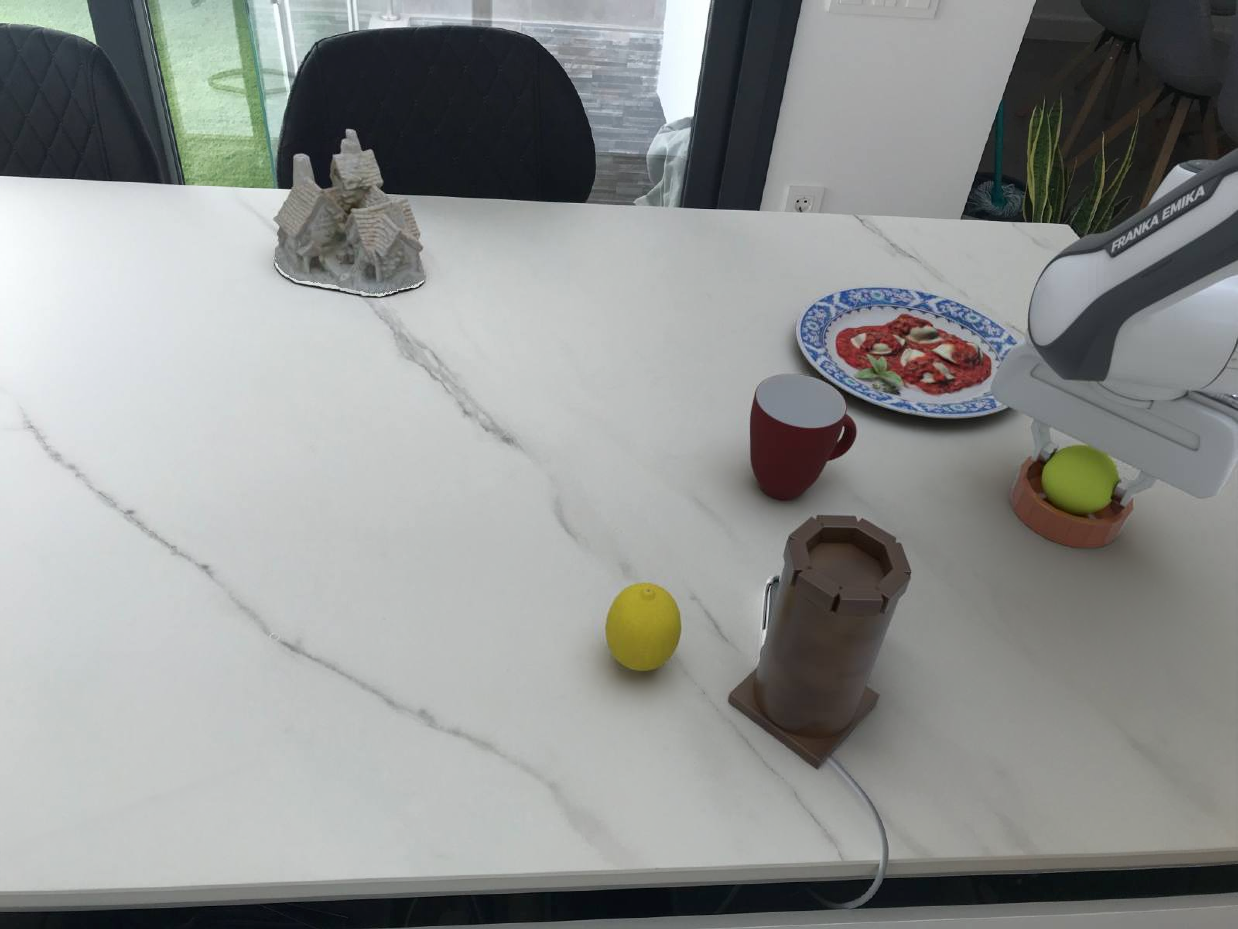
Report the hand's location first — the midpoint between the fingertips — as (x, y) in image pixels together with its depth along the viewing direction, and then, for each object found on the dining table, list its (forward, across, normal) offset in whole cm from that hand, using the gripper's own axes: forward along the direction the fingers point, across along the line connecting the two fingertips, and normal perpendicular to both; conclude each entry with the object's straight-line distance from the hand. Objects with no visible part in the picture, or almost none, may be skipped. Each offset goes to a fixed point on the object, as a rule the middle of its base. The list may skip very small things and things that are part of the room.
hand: (1079, 480), depth 89 cm
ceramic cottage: (+4, +79, +23) cm, 82 cm away
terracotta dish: (+4, 0, 0) cm, 4 cm away
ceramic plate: (+4, +23, -11) cm, 26 cm away
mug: (+4, +20, +16) cm, 26 cm away
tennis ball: (0, 0, 0) cm, 0 cm away
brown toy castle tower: (+4, +5, +36) cm, 37 cm away
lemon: (+4, +16, +42) cm, 45 cm away
